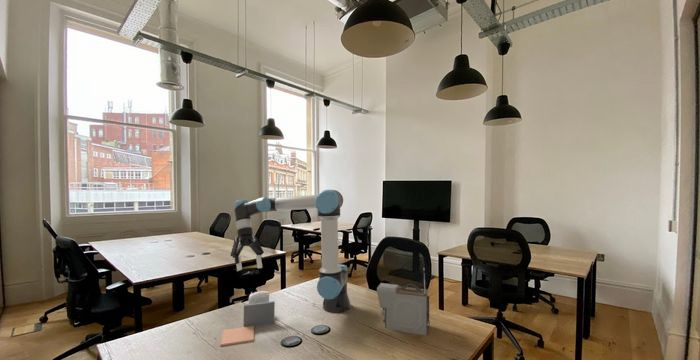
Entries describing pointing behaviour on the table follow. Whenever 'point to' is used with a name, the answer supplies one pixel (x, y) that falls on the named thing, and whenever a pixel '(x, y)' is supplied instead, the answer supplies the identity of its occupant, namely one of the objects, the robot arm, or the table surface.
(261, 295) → the photo printer
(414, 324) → the portable television
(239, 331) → the display pad
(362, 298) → the table surface
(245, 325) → the screen
